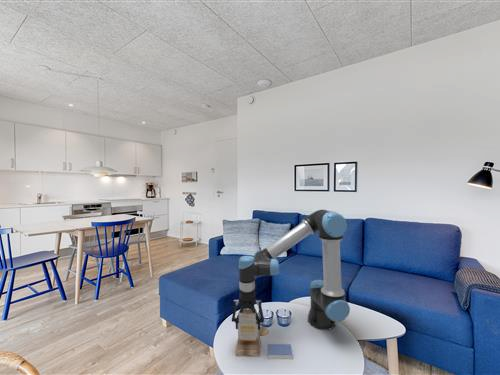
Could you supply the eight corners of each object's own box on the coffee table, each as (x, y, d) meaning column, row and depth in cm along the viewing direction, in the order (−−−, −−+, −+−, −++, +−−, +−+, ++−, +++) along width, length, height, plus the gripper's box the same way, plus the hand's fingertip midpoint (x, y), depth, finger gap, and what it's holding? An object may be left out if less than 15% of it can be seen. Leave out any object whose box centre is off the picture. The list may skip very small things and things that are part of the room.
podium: (260, 340, 118) (260, 334, 118) (259, 356, 107) (259, 350, 107) (238, 340, 119) (238, 334, 119) (235, 355, 108) (235, 349, 108)
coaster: (269, 327, 129) (268, 326, 129) (269, 337, 121) (269, 336, 121) (254, 327, 130) (254, 326, 130) (253, 336, 122) (253, 335, 122)
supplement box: (257, 335, 115) (256, 308, 115) (256, 341, 110) (255, 314, 110) (240, 334, 116) (239, 308, 115) (239, 340, 111) (238, 313, 111)
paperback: (267, 349, 113) (267, 344, 113) (290, 349, 112) (290, 344, 112) (268, 360, 106) (268, 354, 106) (292, 360, 105) (292, 354, 105)
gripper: (268, 285, 115) (269, 331, 116) (227, 285, 117) (228, 330, 117) (268, 292, 108) (269, 341, 108) (224, 292, 110) (225, 340, 110)
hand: (248, 335), depth 113 cm, fingers closed on supplement box, 8 cm apart
